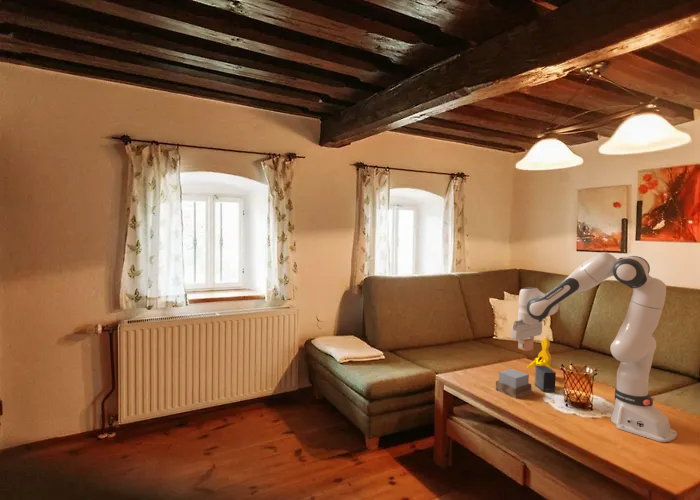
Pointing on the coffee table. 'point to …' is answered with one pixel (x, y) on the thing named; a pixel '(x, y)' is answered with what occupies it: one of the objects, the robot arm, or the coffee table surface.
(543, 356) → the figure statuette
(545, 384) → the small box
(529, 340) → the terracotta cube
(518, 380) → the tower top block
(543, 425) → the coffee table surface
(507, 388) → the tower base slab
